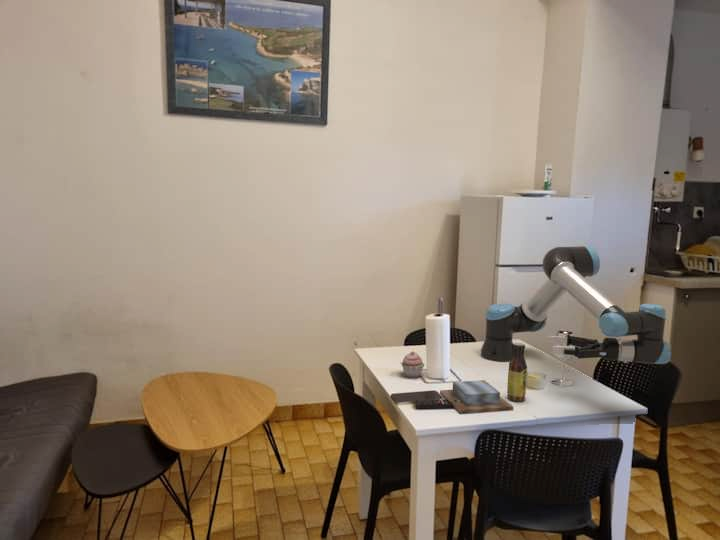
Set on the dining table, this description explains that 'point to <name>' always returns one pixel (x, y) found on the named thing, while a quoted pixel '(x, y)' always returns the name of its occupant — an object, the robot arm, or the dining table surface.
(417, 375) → the cupcake
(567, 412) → the dining table surface
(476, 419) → the dining table surface
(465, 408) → the base
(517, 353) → the sauce bottle
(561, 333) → the wineglass
